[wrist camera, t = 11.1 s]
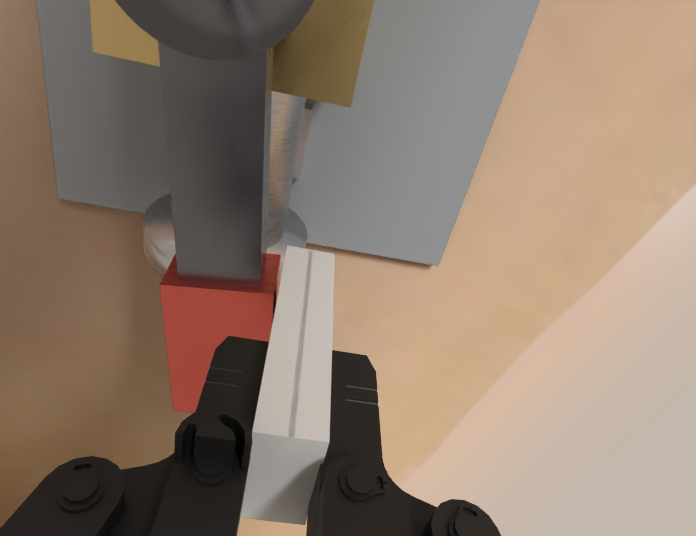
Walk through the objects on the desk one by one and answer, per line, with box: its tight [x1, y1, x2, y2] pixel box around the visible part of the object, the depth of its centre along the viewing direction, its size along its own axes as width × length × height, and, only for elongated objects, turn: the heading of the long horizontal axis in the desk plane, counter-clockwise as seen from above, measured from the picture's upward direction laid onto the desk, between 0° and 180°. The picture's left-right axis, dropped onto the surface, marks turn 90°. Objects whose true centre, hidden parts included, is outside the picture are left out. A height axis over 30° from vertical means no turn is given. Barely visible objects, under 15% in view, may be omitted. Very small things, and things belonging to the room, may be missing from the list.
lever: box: [115, 0, 314, 413], centre depth 13 cm, size 15×4×2 cm, turn 173°
